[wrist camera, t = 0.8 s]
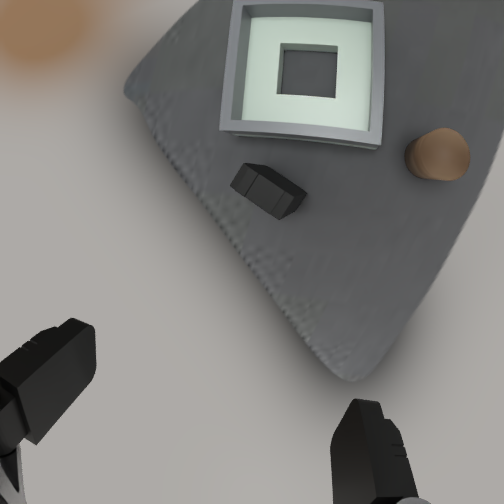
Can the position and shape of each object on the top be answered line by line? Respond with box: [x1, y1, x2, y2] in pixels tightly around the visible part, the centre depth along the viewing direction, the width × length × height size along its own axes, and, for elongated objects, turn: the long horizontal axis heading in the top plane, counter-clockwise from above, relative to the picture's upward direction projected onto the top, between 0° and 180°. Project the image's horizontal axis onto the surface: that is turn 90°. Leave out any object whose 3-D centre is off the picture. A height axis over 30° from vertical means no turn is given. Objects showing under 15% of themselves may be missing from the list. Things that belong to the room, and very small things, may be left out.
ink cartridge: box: [230, 163, 307, 220], centre depth 28 cm, size 5×2×8 cm, turn 57°
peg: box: [405, 128, 470, 181], centre depth 24 cm, size 4×4×8 cm
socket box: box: [219, 0, 385, 150], centre depth 26 cm, size 14×14×5 cm
